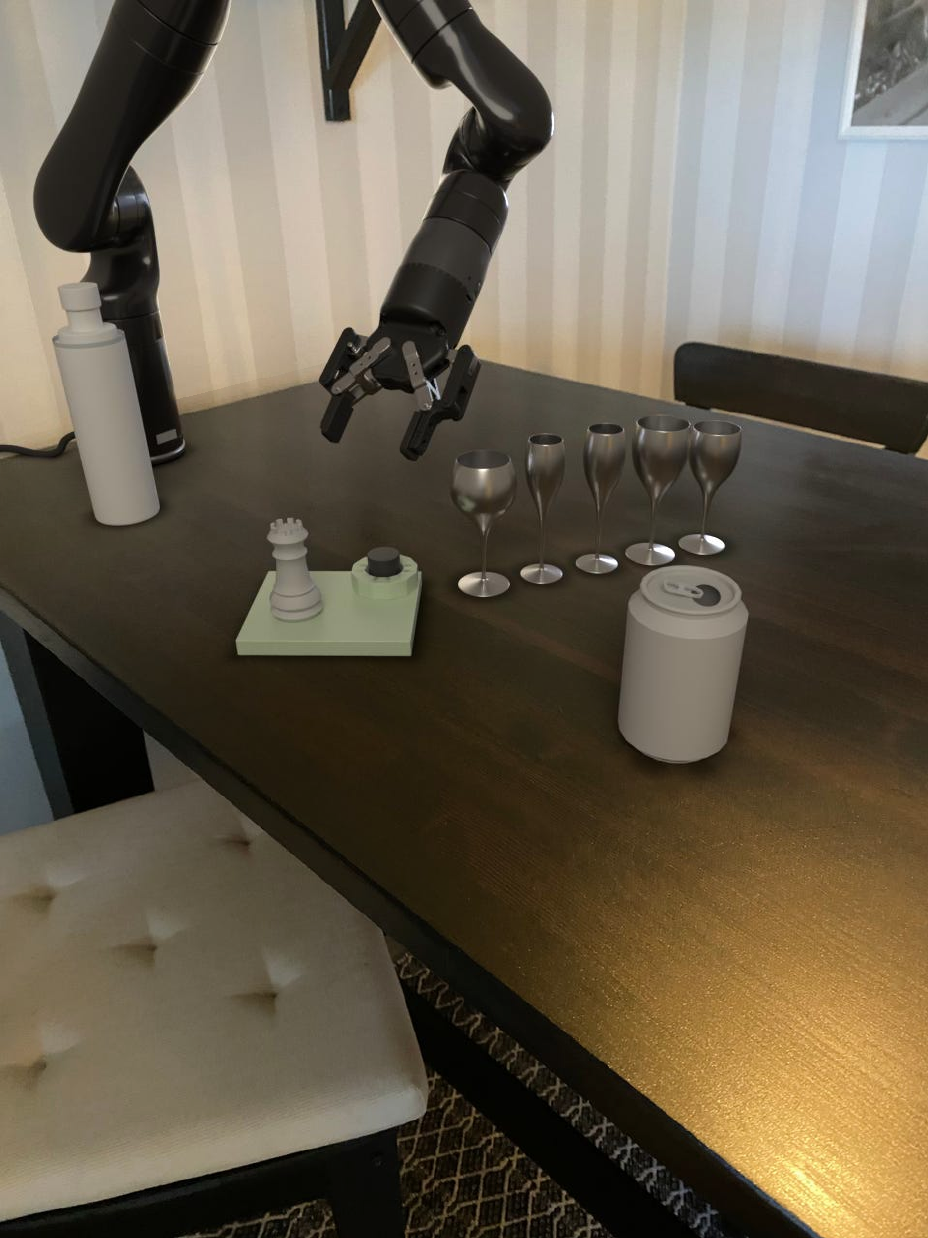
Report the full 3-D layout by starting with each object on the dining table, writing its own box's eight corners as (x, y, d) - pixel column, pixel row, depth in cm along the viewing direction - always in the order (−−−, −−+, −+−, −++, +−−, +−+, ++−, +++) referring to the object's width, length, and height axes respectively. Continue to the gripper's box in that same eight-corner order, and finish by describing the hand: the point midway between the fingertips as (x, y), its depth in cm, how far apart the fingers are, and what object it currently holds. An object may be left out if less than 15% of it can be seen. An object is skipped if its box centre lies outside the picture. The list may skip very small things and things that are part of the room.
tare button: (366, 579, 78) (365, 561, 77) (370, 564, 80) (369, 546, 79) (399, 579, 78) (398, 561, 77) (402, 564, 80) (401, 546, 79)
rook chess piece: (279, 630, 73) (267, 540, 69) (263, 606, 76) (250, 519, 72) (331, 616, 75) (322, 528, 71) (313, 593, 78) (303, 508, 74)
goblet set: (706, 529, 91) (723, 401, 84) (738, 553, 87) (760, 419, 80) (443, 576, 84) (439, 438, 77) (464, 605, 79) (462, 461, 72)
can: (729, 777, 59) (757, 620, 53) (613, 764, 60) (627, 608, 54) (724, 710, 65) (748, 562, 59) (619, 699, 66) (632, 553, 60)
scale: (237, 655, 72) (232, 623, 71) (271, 582, 83) (266, 553, 81) (411, 656, 72) (409, 624, 70) (422, 582, 83) (421, 553, 81)
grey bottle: (166, 499, 100) (119, 260, 87) (151, 524, 94) (99, 273, 82) (105, 501, 100) (49, 262, 87) (87, 527, 94) (23, 274, 81)
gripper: (353, 253, 81) (281, 413, 78) (490, 266, 74) (416, 441, 72) (390, 303, 87) (325, 452, 85) (520, 320, 81) (453, 482, 78)
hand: (367, 447), depth 78 cm, fingers open, 8 cm apart
